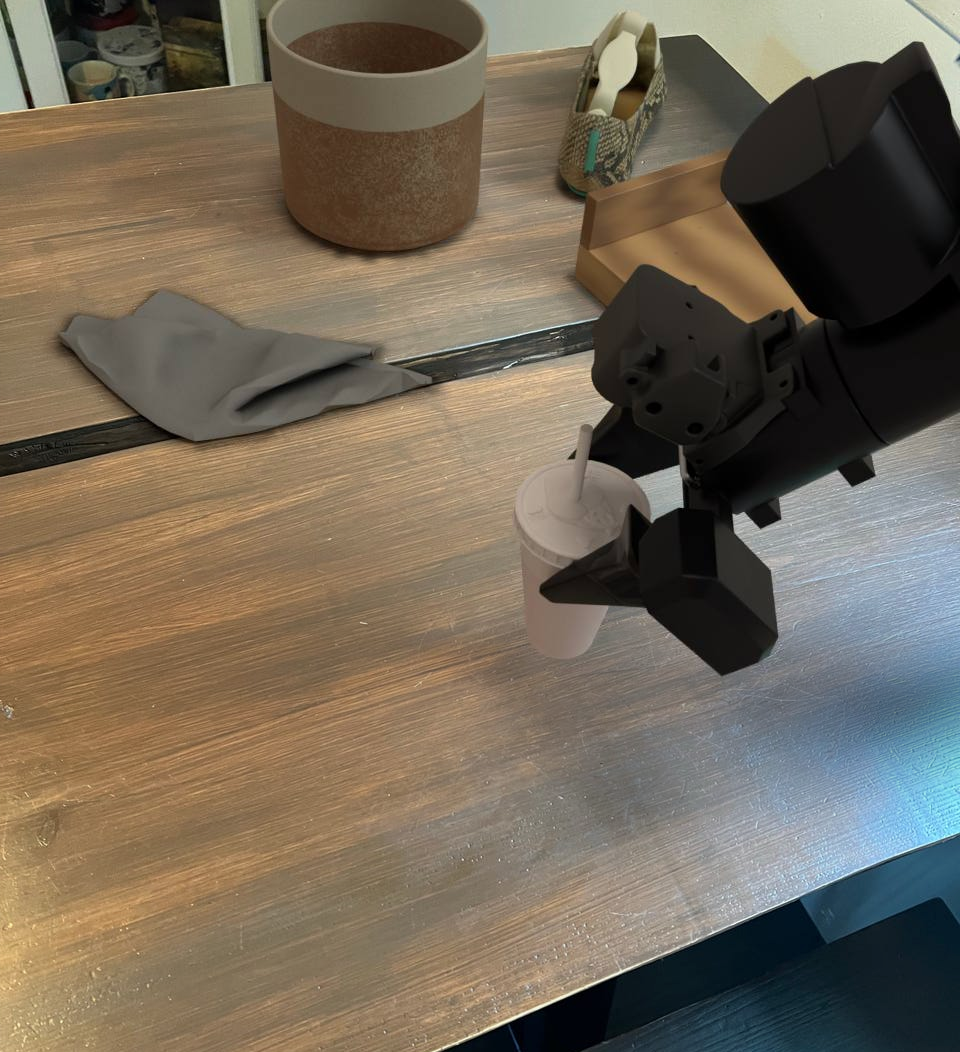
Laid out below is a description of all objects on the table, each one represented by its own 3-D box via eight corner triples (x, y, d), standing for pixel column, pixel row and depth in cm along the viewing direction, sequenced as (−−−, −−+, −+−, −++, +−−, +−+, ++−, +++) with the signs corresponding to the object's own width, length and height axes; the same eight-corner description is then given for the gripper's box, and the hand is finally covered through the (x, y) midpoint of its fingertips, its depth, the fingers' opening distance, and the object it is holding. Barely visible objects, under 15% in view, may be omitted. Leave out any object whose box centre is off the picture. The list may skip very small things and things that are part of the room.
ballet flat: (672, 82, 98) (694, -24, 90) (636, 215, 83) (658, 102, 76) (589, 67, 98) (604, -39, 91) (539, 197, 84) (552, 83, 77)
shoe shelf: (708, 229, 83) (730, 146, 77) (884, 366, 73) (924, 283, 68) (573, 277, 78) (586, 192, 72) (744, 430, 68) (774, 347, 63)
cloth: (7, 387, 67) (-4, 360, 65) (118, 275, 74) (110, 248, 73) (365, 497, 63) (364, 471, 61) (442, 367, 71) (443, 340, 69)
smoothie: (557, 566, 56) (590, 365, 45) (644, 633, 53) (702, 439, 42) (475, 628, 53) (489, 431, 42) (563, 702, 51) (603, 514, 39)
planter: (247, 189, 82) (222, 6, 71) (399, 133, 89) (397, -42, 78) (362, 283, 76) (354, 98, 65) (517, 215, 82) (533, 37, 71)
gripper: (733, 99, 40) (451, 310, 49) (776, 415, 29) (402, 611, 38) (860, 289, 46) (590, 445, 55) (936, 607, 35) (582, 736, 44)
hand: (547, 541), depth 48 cm, fingers closed on smoothie, 6 cm apart
